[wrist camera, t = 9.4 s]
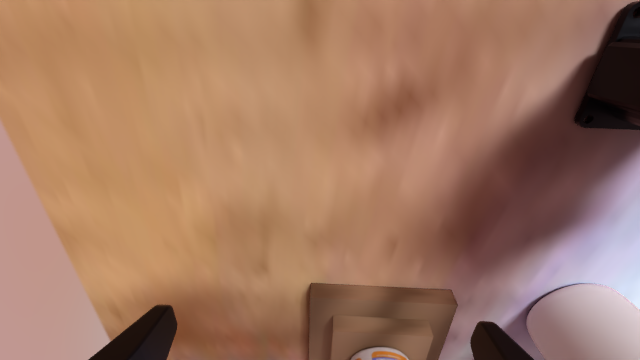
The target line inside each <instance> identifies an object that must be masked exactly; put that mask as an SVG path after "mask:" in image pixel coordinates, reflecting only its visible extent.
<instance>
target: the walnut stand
mask: <svg viewBox="0 0 640 360" xmlns="http://www.w3.org/2000/svg"><path fill="white" fill-rule="evenodd" d="M457 306H458V304H457V302H456V300H455V298H454V295H453V293H452V291H451V290H436V289H416V288H396V287H376V286H356V285H337V284H317V283H311V291H310V323H309V360H351V358H352V357H353V356H354V355H355V354H356V353H358V352H360V351H362V350H364V349H368V348H373V347H388V348H393V349H396V350H399V351H400V352H402V353H403V354H405V355H406V356H407V358H408V359H409V360H438V358H439V356H440V353H441V350H442V347H443V345H444V342H445V339H446V336H447V334H448V331H449V328H450V325H451V323H452V320H453V317H454V314H455V312H456V309H457Z"/></svg>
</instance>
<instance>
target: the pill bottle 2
mask: <svg viewBox="0 0 640 360" xmlns="http://www.w3.org/2000/svg"><path fill="white" fill-rule="evenodd" d="M526 324H527V330H528V332H529V334H530V336H531V338H532V340H533V342H534V343H535V345H536V346H537V348H538V349H539V351H540V352H541V354H542V355H543V357H544V359H545V360H640V310H639V309H638V308H637V307H636V306H635V305H634V304H633V303H632V302H630V301H629V300H628V299H627V298H626V297H624V296H623V295H622V294H621V293H619V292H618V291H616V290H614V289H612V288H610V287H608V286H605V285H601V284H592V283H586V284H577V285H572V286H568V287H565V288H562V289H559V290H557V291H554V292H552V293H550V294H549V295H547V296H545V297H544V298H542V299H541V300H540V301H539V302H537V303H536V304H535V305H534V306H533V308H532V309H531V310H530V312H529V314H528V316H527V321H526Z"/></svg>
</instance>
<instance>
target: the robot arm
mask: <svg viewBox="0 0 640 360" xmlns="http://www.w3.org/2000/svg"><path fill="white" fill-rule="evenodd" d="M635 9H637V13H636V15H635V16H634V17H633V12H634V11H635ZM587 116H588V118H587V120H585V121H584V119H585V118H586V117H587ZM574 121H575V123H576V124H577V125H578V126H581V127H584V128H606V129H632V130H640V1H637V2H632V3H630V4H628V5H627V6H626V7H625V8H624V9H623V11H622V13H621V15H620V17H619V19H618V22H617V24H616V26H615V28H614V31H613V33H612V35H611V38H610V40H609V42H608V44H607V47H606V49H605V51H604V53H603V56H602V58H601V60H600V62H599V65H598V67H597V69H596V71H595V74H594V76H593V78H592V80H591V83H590V85H589V87H588V89H587V92H586V94H585V96H584V98H583V101H582V103H581V105H580V108H579V110H578V112H577V114H576V117H575V120H574ZM176 330H177V321H176V318H175V314H174V311H173V308H172V306H170V305H156V306H154V307H153V308H152V309H150V310H149V311H148V312H147V313H146V314H144V315H143V316H142V317H141V318H139V319H138V320H137V321H136V322H134V323H133V324H132V325H131V326H129V327H128V328H127V329H126V330H125V331H123V332H122V333H121V334H120V335H118V336H117V337H116V338H115V339H113V340H112V341H111V342H110V343H108V344H107V345H106V346H105V347H104V348H103V349H101V350H100V351H99V352H97V353H96V354H95V355H94V356H92V357H91V358H90V359H89V360H166V359H167V357H168V354H169V351H170V348H171V345H172V342H173V339H174V336H175V333H176ZM471 349H472V353H473V356H474V360H534V359H533V358H532V357H531V356H530V355H529V354H528V353H527V352H526V351H525V350H523V349H522V348H521V347H520V346H519V345H518V344H517V343H516V342H515V341H514V340H513V339H512V338H511V337H510V336H508V335H507V334H506V333H505V332H504V331H503V330H502V329H501V328H500V327H499V326H498V325H497V324H495V323H493V322H485V321H480V322H478V323H477V325H476V327H475V330H474V332H473V335H472V337H471Z"/></svg>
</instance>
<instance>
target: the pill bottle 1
mask: <svg viewBox="0 0 640 360" xmlns="http://www.w3.org/2000/svg"><path fill="white" fill-rule="evenodd" d="M351 360H409V359H408V358H407V356H406V355H405V354H403V353H402V352H400V351H399V350H396V349H393V348H388V347H373V348H368V349H364V350H362V351H360V352H358V353H356V354H355V355H354V356H353V357H352V358H351Z"/></svg>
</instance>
